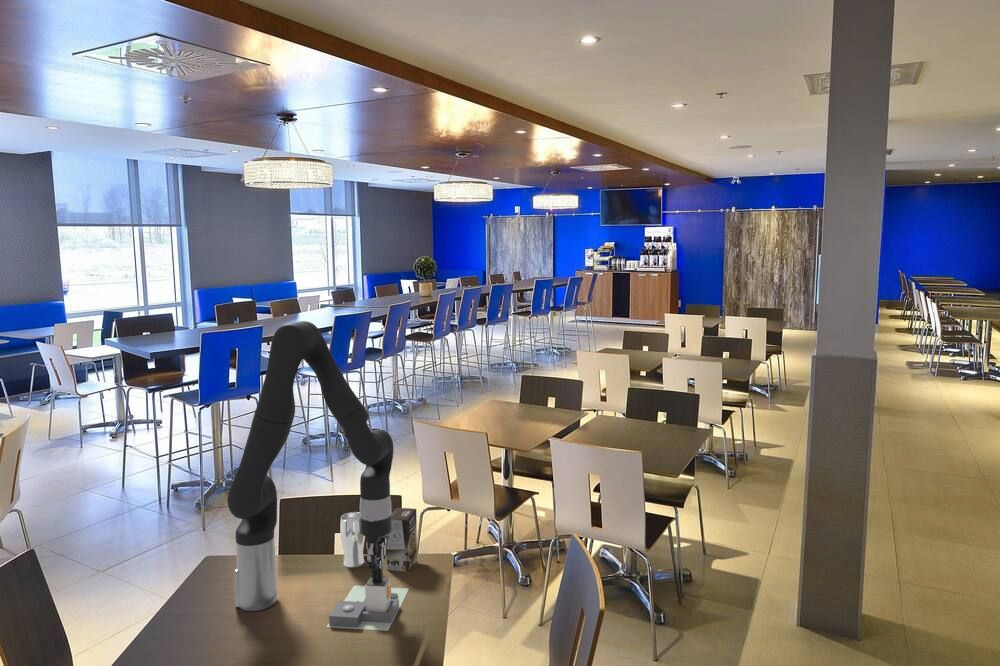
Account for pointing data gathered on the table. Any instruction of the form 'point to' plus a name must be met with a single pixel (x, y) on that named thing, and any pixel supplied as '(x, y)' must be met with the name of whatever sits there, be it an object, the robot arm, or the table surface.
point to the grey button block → (347, 614)
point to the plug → (378, 595)
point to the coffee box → (402, 540)
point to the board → (376, 618)
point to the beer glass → (352, 539)
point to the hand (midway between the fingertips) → (377, 581)
